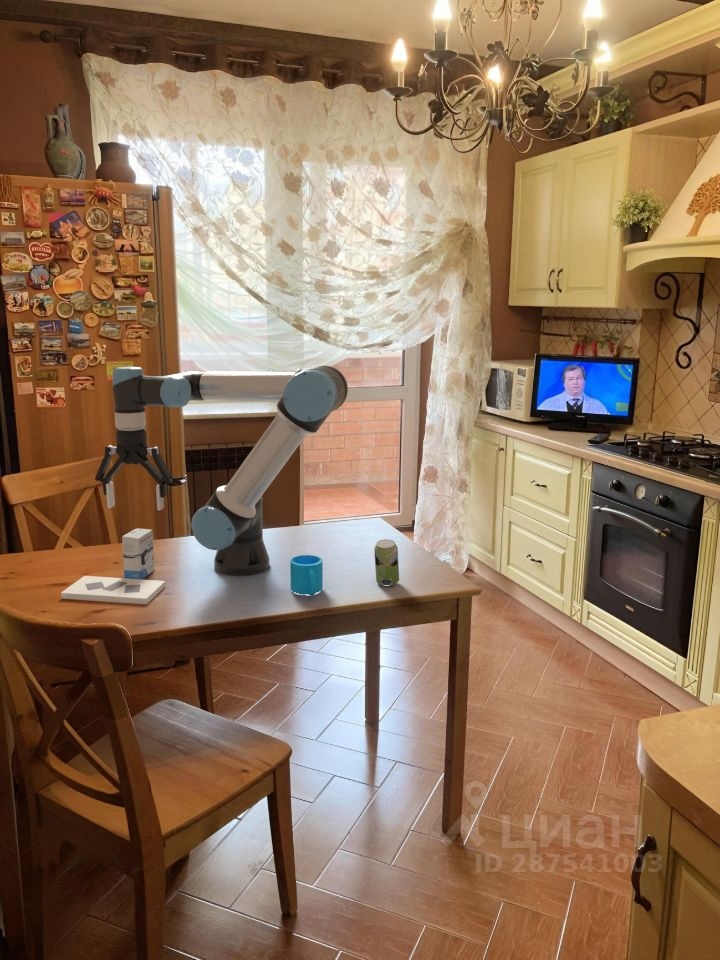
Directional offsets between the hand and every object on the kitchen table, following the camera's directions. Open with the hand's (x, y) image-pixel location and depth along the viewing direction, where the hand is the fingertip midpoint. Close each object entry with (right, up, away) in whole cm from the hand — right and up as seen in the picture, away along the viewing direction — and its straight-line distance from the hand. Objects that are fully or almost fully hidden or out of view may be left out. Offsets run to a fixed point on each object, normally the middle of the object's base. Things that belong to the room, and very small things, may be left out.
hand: (135, 508), depth 199 cm
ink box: (0, -18, +4) cm, 19 cm away
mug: (+46, -21, -6) cm, 51 cm away
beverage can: (+66, -20, 0) cm, 69 cm away
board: (-3, -21, -8) cm, 23 cm away
